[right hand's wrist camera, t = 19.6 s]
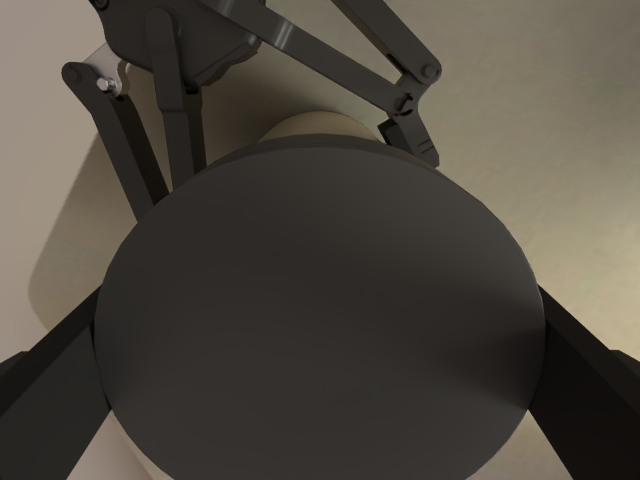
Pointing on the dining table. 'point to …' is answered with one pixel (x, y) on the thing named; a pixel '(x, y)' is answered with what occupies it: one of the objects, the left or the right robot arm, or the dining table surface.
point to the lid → (319, 320)
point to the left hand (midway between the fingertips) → (356, 271)
